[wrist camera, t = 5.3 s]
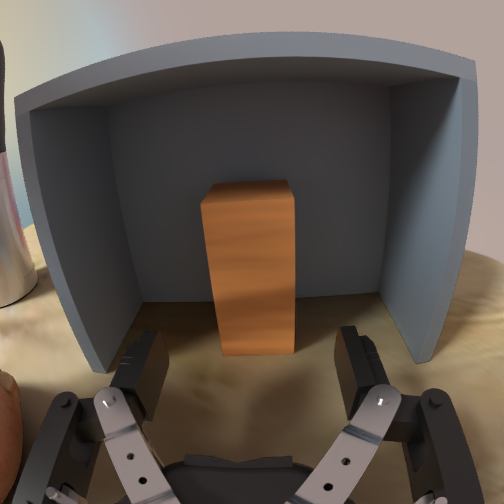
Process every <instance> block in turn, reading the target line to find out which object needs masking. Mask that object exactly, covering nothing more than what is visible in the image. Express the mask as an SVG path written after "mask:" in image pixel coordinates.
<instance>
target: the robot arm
mask: <svg viewBox="0 0 504 504" xmlns="http://www.w3.org/2000/svg"><path fill="white" fill-rule="evenodd" d="M4 79H5V57H4V50H3V46H2V43H1V41H0V307H3V306H6V305H8V304H11V303H13V302H15V301H17V300H19V299H20V298H22V297H23V296H25V295H26V294H27V293H28V292H30V291H31V290H32V289H33V288H34V286H35V285H36V284H37V281H38V275H37V273H36V270H35V266H34V263H33V261H32V258H31V255H30V252H29V248H28V245H27V242H26V239H25V235H24V232H23V228H22V225H21V221H20V217H19V213H18V209H17V205H16V201H15V196H14V192H13V187H12V182H11V177H10V172H9V167H8V160H7V153H6V146H5V116H4V82H5V80H4ZM334 361H335V366H336V370H337V375H338V379H339V383H340V388H341V392H342V396H343V401H344V405H345V410H346V415H347V419H348V421H349V420H351V422H350V423H349V425H348V426H347V427H345V428H344V429H343V430H342V432H341V433H340V434H339V436H338V437H337V439H336V440H335V442H334V443H333V445H332V446H331V448H330V449H329V450H328V452H327V453H326V454H325V456H324V457H323V459H322V460H321V461H320V463H319V464H318V465H317V467H316V468H315V469H312V468H310V467H308V466H306V465H303V464H299V463H294V462H292V456H283V457H264V458H259V459H255V460H250V461H246V462H241V463H235V462H231V461H227V460H223V459H219V458H216V457H212V456H202V455H190V454H186V456H185V461H179V462H175V463H172V464H170V465H167V466H164V464H163V463H162V461H161V460H160V458H159V457H158V455H157V453H156V451H155V450H154V448H153V446H152V444H151V442H150V440H149V439H148V437H147V435H146V433H145V431H144V429H143V427H142V424H143V421H144V420H148V421H152V420H153V416H154V413H155V409H156V406H157V403H158V400H159V396H160V393H161V390H162V386H163V383H164V380H165V377H166V374H167V371H168V367H169V355H168V352H167V349H166V346H165V342H164V339H163V336H162V333H161V332H160V331H144V332H143V334H142V336H141V338H140V341H134V342H133V343H132V344H131V345H130V346H129V347H128V348H127V350H126V352H125V354H124V358H122V360H121V362H120V363H121V364H119V367H118V369H117V371H116V373H115V375H114V377H113V380H112V382H111V384H110V386H109V387H107V388H104V389H102V390H100V391H99V392H98V393H97V394H96V395H95V397H94V398H86V399H78V398H77V396H76V395H75V394H74V393H72V392H62V393H60V394H58V395H57V396H56V397H55V398H54V400H53V401H52V404H51V406H50V408H49V410H48V412H47V414H46V416H45V419H44V421H43V423H42V425H41V428H40V430H39V432H38V434H37V437H36V439H35V442H34V444H33V446H32V449H31V451H30V454H29V456H28V459H27V461H26V464H25V467H24V469H23V472H22V475H21V477H20V480H19V483H18V486H17V489H16V492H15V495H14V498H13V501H12V504H89V503H88V501H87V500H86V496H87V492H88V488H89V484H90V480H91V477H92V473H93V469H94V466H95V462H96V459H97V455H98V452H99V448H100V445H101V442H102V441H104V442H105V445H106V448H107V450H108V453H109V455H110V458H111V460H112V462H113V465H114V467H115V469H116V472H117V474H118V476H119V478H120V480H121V483H122V485H123V487H124V489H125V491H126V493H127V495H126V496H125V497H124V498H122V499H121V500H120V501H118V502H117V503H115V504H355V503H354V502H353V501H352V500H350V499H349V498H348V496H349V495H350V493H351V492H352V490H353V489H354V487H355V486H356V484H357V483H358V481H359V479H360V478H361V476H362V475H363V473H364V471H365V470H366V468H367V466H368V465H369V463H370V461H371V459H372V458H373V456H374V454H375V452H376V451H377V449H378V447H379V445H380V443H381V441H394V442H402V447H403V451H404V456H405V461H406V465H407V470H408V475H409V481H410V486H411V492H412V497H413V504H485V503H484V499H483V495H482V491H481V487H480V483H479V480H478V476H477V473H476V469H475V466H474V463H473V460H472V457H471V453H470V450H469V447H468V444H467V442H466V439H465V436H464V433H463V430H462V427H461V425H460V422H459V419H458V417H457V414H456V412H455V409H454V407H453V404H452V402H451V399H450V397H449V395H448V394H447V393H446V392H444V391H443V390H440V389H436V388H433V389H428V390H426V391H425V392H424V393H423V394H422V396H409V395H403V394H400V392H399V391H398V390H397V389H396V388H395V387H393V386H391V385H390V383H389V381H388V378H387V375H386V373H385V370H384V367H383V365H382V362H381V360H380V357H379V355H378V353H377V350H376V347H375V345H374V342H373V341H372V340H371V339H369V338H368V337H367V336H366V335H365V336H359V335H358V332H357V329H356V327H355V326H354V325H352V326H341V327H338V329H337V336H336V343H335V350H334Z"/></svg>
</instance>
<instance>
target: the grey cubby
mask: <svg viewBox="0 0 504 504" xmlns="http://www.w3.org/2000/svg"><path fill="white" fill-rule="evenodd" d="M14 104H15V117H16V128H17V137H18V145H19V152H20V159H21V165H22V171H23V177H24V182H25V187H26V192H27V196H28V201H29V204H30V209H31V213H32V217H33V221H34V225H35V229H36V232H37V236H38V239H39V242H40V246H41V249H42V252H43V255H44V258H45V261H46V264H47V267H48V270H49V273H50V276H51V279H52V282H53V284H54V287H55V290H56V292H57V295H58V297H59V300H60V302H61V305H62V307H63V310H64V312H65V314H66V317H67V319H68V321H69V323H70V326H71V328H72V330H73V332H74V334H75V337H76V339H77V341H78V343H79V345H80V347H81V349H82V351H83V353H84V355H85V357H86V359H87V361H88V363H89V365H90V367H91V369H92V370H93V372H100V373H107V371H108V369H109V367H110V365H111V363H112V361H113V359H114V357H115V355H116V353H117V351H118V349H119V347H120V345H121V343H122V341H123V339H124V337H125V335H126V334H127V332H128V330H129V328H130V326H131V324H132V322H133V320H134V319H135V317H136V315H137V313H138V311H139V309H140V308H141V306H142V304H143V302H203V301H214V297H213V291H212V285H211V278H210V271H209V264H208V257H207V250H206V243H205V236H204V228H203V221H202V213H201V205H200V204H201V202H202V201H203V199H204V198H205V196H206V195H207V193H208V192H209V190H210V189H211V187H212V186H213V184H218V183H231V182H246V181H264V180H286V179H287V181H288V184H289V187H290V189H291V192H292V194H293V197H294V208H295V298H304V297H320V296H335V295H348V294H361V293H373V292H378V293H379V295H380V297H381V299H382V300H383V302H384V304H385V306H386V308H387V309H388V311H389V313H390V315H391V317H392V318H393V320H394V322H395V324H396V326H397V328H398V330H399V332H400V333H401V335H402V337H403V339H404V341H405V343H406V345H407V347H408V349H409V351H410V353H411V355H412V357H413V359H414V361H415V363H416V364H418V363H423V362H427V361H430V360H431V357H432V355H433V352H434V350H435V347H436V344H437V342H438V339H439V336H440V333H441V331H442V328H443V325H444V322H445V319H446V316H447V313H448V310H449V306H450V303H451V300H452V296H453V293H454V289H455V286H456V282H457V278H458V274H459V270H460V266H461V262H462V258H463V253H464V249H465V244H466V239H467V234H468V228H469V222H470V216H471V210H472V203H473V195H474V187H475V176H476V166H477V149H478V92H477V76H476V65H475V61H474V60H470V59H468V58H465V57H461V56H458V55H455V54H451V53H447V52H444V51H440V50H436V49H432V48H428V47H424V46H420V45H415V44H410V43H405V42H400V41H394V40H388V39H382V38H375V37H367V36H359V35H349V34H338V33H321V32H260V33H244V34H232V35H223V36H214V37H206V38H199V39H193V40H187V41H181V42H175V43H170V44H166V45H161V46H156V47H151V48H147V49H143V50H139V51H135V52H131V53H127V54H124V55H120V56H117V57H114V58H110V59H107V60H104V61H101V62H97V63H94V64H92V65H89V66H86V67H83V68H80V69H78V70H75V71H72V72H70V73H67V74H64V75H62V76H59V77H57V78H55V79H52V80H50V81H48V82H45V83H43V84H41V85H39V86H37V87H35V88H33V89H30V90H28V91H26V92H24V93H22V94H20V95H18V96H16V97H14Z"/></svg>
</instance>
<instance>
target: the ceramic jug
mask: <svg viewBox="0 0 504 504" xmlns="http://www.w3.org/2000/svg"><path fill="white" fill-rule="evenodd" d="M22 447H23V425H22V416H21V404H20V396H19V389H18V385H17V383H16V381H15V379H14V378H13V376H11V375H10V374H8V373H6V372H2V371H1V370H0V504H2V502H3V501H4V499H5V498H6V496H7V495H8V493H9V492H10V490H11V488H12V486H13V484H14V482H15V479H16V476H17V473H18V469H19V466H20V461H21V456H22Z"/></svg>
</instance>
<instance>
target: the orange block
mask: <svg viewBox="0 0 504 504" xmlns="http://www.w3.org/2000/svg"><path fill="white" fill-rule="evenodd" d="M200 205H201V213H202V221H203V228H204V236H205V243H206V250H207V257H208V264H209V271H210V278H211V285H212V291H213V297H214V304H215V310H216V316H217V322H218V328H219V334H220V340H221V345H222V351H223V356H247V355H276V354H294V336H295V208H294V197H293V194H292V192H291V189H290V187H289V184H288V181H287V179H286V180H264V181H246V182H231V183H218V184H213V186H212V187H211V189H210V190H209V192H208V193H207V195H206V196H205V198H204V199H203V201H202V202H201V204H200Z"/></svg>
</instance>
